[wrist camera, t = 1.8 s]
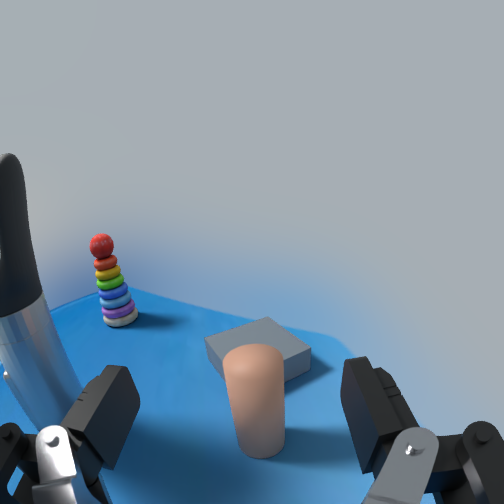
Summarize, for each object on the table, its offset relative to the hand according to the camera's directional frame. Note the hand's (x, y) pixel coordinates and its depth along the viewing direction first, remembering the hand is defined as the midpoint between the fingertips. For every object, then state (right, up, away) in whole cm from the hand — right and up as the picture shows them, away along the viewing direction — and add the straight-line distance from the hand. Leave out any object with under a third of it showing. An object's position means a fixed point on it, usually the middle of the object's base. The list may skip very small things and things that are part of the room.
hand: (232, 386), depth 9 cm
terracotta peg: (+2, -16, +16) cm, 22 cm away
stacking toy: (-27, -10, +45) cm, 54 cm away
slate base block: (+1, -12, +30) cm, 32 cm away
